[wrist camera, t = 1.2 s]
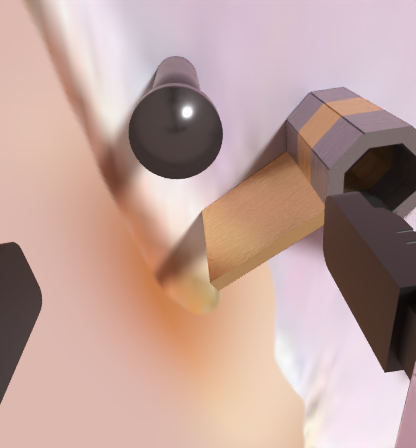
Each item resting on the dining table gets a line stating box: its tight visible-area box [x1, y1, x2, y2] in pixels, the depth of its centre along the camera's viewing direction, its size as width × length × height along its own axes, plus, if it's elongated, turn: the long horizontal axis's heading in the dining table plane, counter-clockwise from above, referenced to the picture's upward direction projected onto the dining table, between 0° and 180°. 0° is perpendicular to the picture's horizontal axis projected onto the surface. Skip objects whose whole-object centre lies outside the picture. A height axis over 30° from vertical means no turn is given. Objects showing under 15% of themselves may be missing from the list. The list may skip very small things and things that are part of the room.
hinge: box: [202, 87, 416, 291], centre depth 29 cm, size 10×23×10 cm, turn 98°
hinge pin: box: [129, 56, 223, 179], centre depth 24 cm, size 4×4×14 cm
